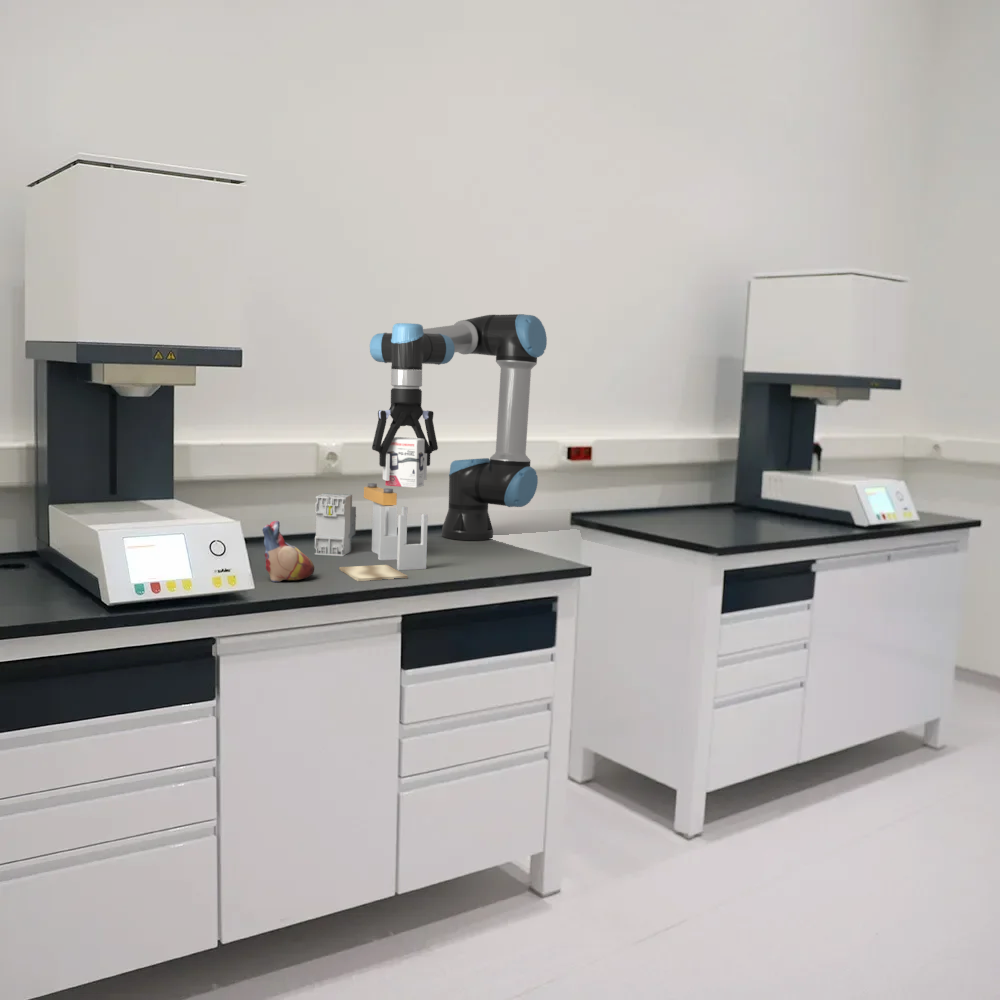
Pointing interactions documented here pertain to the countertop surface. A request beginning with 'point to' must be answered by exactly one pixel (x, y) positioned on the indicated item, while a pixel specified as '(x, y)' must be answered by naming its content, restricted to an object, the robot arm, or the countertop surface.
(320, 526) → the circuit breaker
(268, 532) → the anatomical model
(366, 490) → the bar
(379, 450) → the robot arm
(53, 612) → the countertop surface
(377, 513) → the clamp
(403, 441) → the ink box
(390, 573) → the birch pad
